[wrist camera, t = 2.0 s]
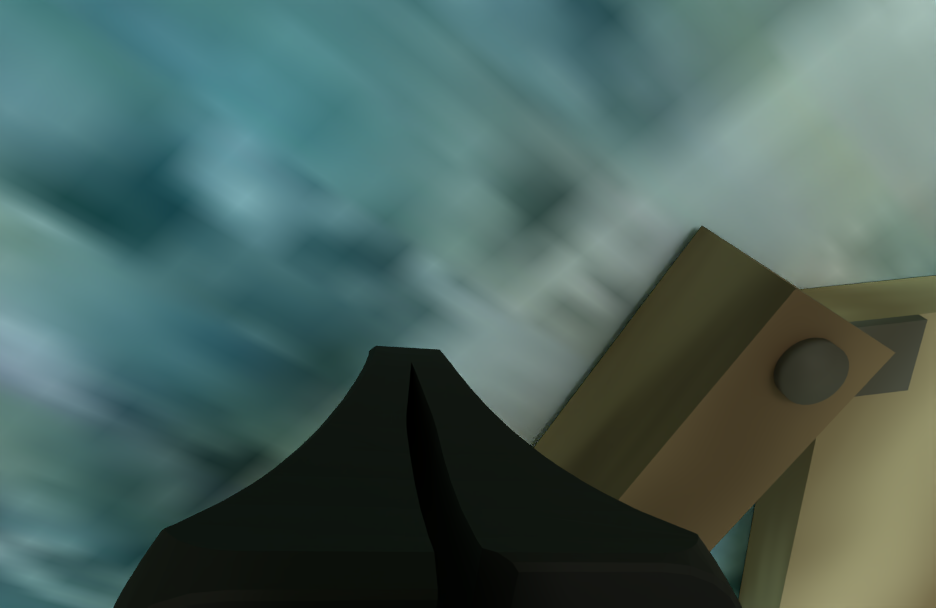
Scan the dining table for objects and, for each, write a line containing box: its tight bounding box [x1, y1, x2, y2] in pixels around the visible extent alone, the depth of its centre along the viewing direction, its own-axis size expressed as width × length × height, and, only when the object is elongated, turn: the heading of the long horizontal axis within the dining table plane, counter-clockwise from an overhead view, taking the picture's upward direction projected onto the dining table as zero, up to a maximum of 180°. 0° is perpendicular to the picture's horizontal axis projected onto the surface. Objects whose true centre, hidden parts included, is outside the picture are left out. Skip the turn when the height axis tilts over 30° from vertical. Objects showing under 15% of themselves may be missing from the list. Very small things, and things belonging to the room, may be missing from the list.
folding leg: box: [534, 226, 895, 552], centre depth 16 cm, size 3×10×4 cm, turn 148°
